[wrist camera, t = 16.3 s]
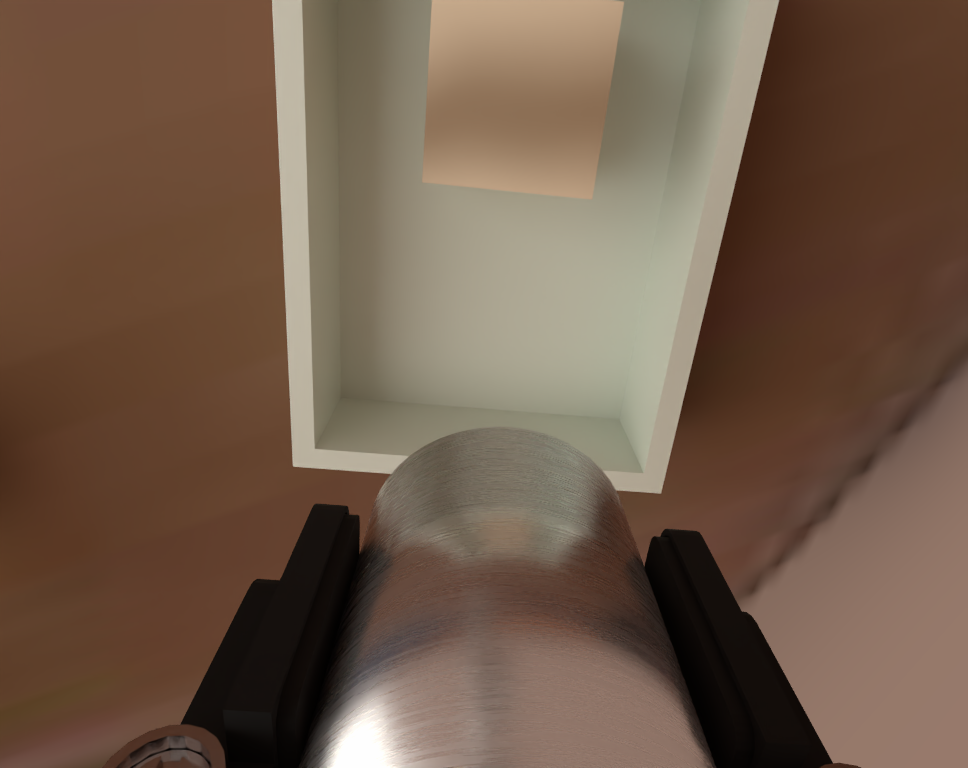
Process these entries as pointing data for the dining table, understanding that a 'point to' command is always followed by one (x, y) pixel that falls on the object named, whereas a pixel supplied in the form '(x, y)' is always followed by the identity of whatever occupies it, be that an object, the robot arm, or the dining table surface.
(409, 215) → the tote
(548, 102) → the maple cube
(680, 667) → the robot arm
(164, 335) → the dining table surface
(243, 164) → the dining table surface
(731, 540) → the dining table surface
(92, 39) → the dining table surface
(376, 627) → the steel cylinder
